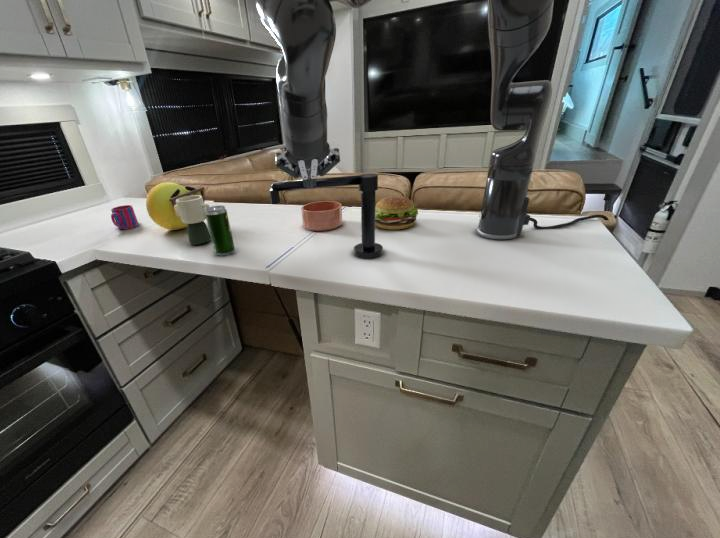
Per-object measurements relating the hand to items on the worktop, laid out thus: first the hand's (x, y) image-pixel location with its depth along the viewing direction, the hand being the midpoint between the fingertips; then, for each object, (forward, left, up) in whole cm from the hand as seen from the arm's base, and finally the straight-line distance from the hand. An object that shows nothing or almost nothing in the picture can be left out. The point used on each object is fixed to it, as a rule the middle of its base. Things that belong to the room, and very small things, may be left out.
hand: (310, 185), depth 71 cm
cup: (+70, -37, -18) cm, 81 cm away
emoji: (+48, -32, -18) cm, 61 cm away
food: (-22, -23, -18) cm, 36 cm away
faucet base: (-13, -2, -18) cm, 22 cm away
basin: (-1, -26, -18) cm, 31 cm away
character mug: (+35, -17, -18) cm, 43 cm away
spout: (-3, -2, -4) cm, 5 cm away
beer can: (+25, -8, -18) cm, 32 cm away
